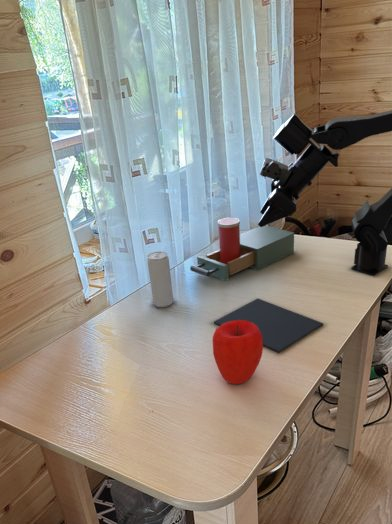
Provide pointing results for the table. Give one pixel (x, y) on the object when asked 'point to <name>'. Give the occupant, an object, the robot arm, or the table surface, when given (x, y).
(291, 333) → the mat
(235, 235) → the tea tin
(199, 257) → the drawer
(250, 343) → the apple
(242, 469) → the table surface
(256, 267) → the cabinet
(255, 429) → the table surface
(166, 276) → the beverage can
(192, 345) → the table surface
